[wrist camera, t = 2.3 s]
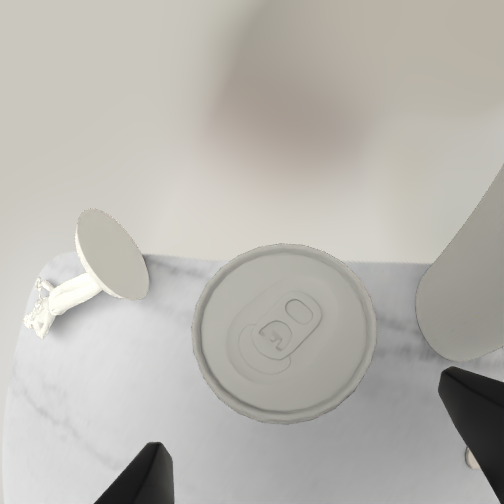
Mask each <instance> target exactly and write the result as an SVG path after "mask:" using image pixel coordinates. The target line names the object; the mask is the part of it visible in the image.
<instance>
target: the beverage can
mask: <svg viewBox="0 0 504 504" xmlns="http://www.w3.org/2000/svg"><path fill="white" fill-rule="evenodd" d="M191 328H192V343H193V352H194V355H195V357H196V360H197V363H198V366H199V368H200V371H201V373H202V375H203V378H204V380H205V381H206V382H207V384H208V385H209V386H210V388H211V389H212V391H213V392H214V393H215V395H216V396H217V397H218V398H219V399H220V400H221V401H223V402H224V403H225V404H227V405H228V406H229V407H231V408H232V409H233V410H235V411H236V412H237V413H239V414H242V415H244V416H247V417H249V418H252V419H254V420H257V421H260V422H265V423H276V424H292V423H298V422H303V421H309V420H313V419H315V418H317V417H319V416H321V415H323V414H325V413H327V412H329V411H331V410H333V409H335V408H336V407H337V406H339V405H340V404H341V403H342V402H343V401H344V400H345V399H346V398H348V397H349V396H350V395H351V394H352V393H353V392H354V391H355V389H356V387H357V386H358V384H359V383H360V381H361V380H362V378H363V376H364V375H365V373H366V371H367V370H368V368H369V366H370V364H371V361H372V357H373V354H374V350H375V346H376V343H377V319H376V315H375V312H374V308H373V304H372V301H371V298H370V296H369V294H368V292H367V291H366V289H365V287H364V286H363V284H362V282H361V281H360V279H359V278H358V277H357V276H356V275H355V274H354V273H353V272H352V271H351V270H350V269H349V268H348V267H347V266H346V265H345V264H344V263H343V262H342V261H340V260H338V259H336V258H335V257H333V256H331V255H329V254H328V253H326V252H324V251H321V250H318V249H315V248H311V247H308V246H305V245H296V244H275V245H269V246H262V247H258V248H255V249H253V250H251V251H248V252H246V253H243V254H241V255H239V256H237V257H236V258H234V259H233V260H231V261H230V262H229V263H227V264H226V265H224V266H223V267H222V268H220V269H219V271H218V272H217V273H216V274H215V275H214V276H213V278H212V279H211V280H210V281H209V282H208V283H207V285H206V286H205V288H204V290H203V292H202V294H201V296H200V298H199V300H198V302H197V304H196V307H195V312H194V317H193V322H192V327H191Z"/></svg>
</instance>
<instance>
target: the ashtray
mask: <svg viewBox="0 0 504 504" xmlns="http://www.w3.org/2000/svg"><path fill="white" fill-rule="evenodd" d="M466 463H467V465H468V466H469V467H470V468H472V469H479V468H480V466H479V464H478V463H477V461H476V459H475V458H474V456H473V454H472V453H471V451H470V450H469V448H468V447H467V450H466Z"/></svg>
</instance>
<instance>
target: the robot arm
mask: <svg viewBox="0 0 504 504" xmlns="http://www.w3.org/2000/svg"><path fill="white" fill-rule="evenodd" d="M438 393H439V395H440V397H441V399H442V401H443V403H444V405H445V407H446V409H447V411H448V413H449V415H450V417H451V419H452V421H453V423H454V425H455V427H456V429H457V430H458V432H459V434H460V435H461V437H462V438H463V440H464V442H465V443H466V445H467V446H468V448H469V450H470V451H471V453H472V454H473V456H474V458H475V459H476V461H477V463H478V464H479V466H480V468H481V469H482V471H483V473H484V475H485V476H486V478H487V480H488V482H489V483H490V485H491V487H492V489H493V490H494V492H495V494H496V496H497V498H498V500H499V501H500V503H501V504H504V382H500V381H497V380H494V379H491V378H488V377H485V376H482V375H478V374H475V373H472V372H469V371H466V370H463V369H460V368H457V367H454V366H452V367H449V368H447V369H445V370H443V371H442V373H441V377H440V382H439V387H438ZM94 504H174V482H173V461H172V458H171V456H170V454H169V453H168V451H167V450H166V448H165V447H164V445H163V444H162V443H161V442H149V443H147V444H146V445H145V447H144V448H143V449H142V450H141V451H140V452H139V454H138V455H137V456H136V457H135V458H134V459H133V461H132V462H131V463H130V464H129V465H128V466H127V467H126V469H125V470H124V471H123V472H122V473H121V474H120V475H119V476H118V478H117V479H116V480H115V481H114V482H113V483H112V484H111V485H110V486H109V488H108V489H107V490H106V491H105V492H104V493H103V494H102V495H101V496H100V497H99V499H98V500H97V501H96V502H95V503H94Z"/></svg>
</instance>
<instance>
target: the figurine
mask: <svg viewBox="0 0 504 504" xmlns="http://www.w3.org/2000/svg"><path fill="white" fill-rule="evenodd" d="M75 243H76V248H77V252H78V255H79V258H80V260H81V262H82V264H83V266H84V268H85V270H86V271H87V272H85V273H83V274H81V275H79V276H77V277H75V278H73V279H71V280H68V281H66V282H64V283H62V284H60V285H59V286H58V287H55V288H54V287H53V286H52V285H51V284H50V283H49V282H48V281H47V280H45V281H42V282H40V281H41V278H40V277H39V278H38V280H37V281H36V284H35V288H36V290H39V298H40V299H39V300H37V301H36V302H35V307H34V309H33V311H32V312H31V313H28V315H27V316H26V317H25V318H24V320H23V321H24V323H25V326H27V327H28V328H30V329H31V328H34V329H35V331H36V333H37V335H38V337H39V338H41V339H43V338H44V337H45V336H46V334H47V333H48V331H49V328H50V326H51V324H52V323H53V321H54V319H55V316H57V315H62V314H63V313H64V312H65V311H66V310H67V309H69V308H72V307H74V306H76V305H78V304H80V303H83V302H85V301H87V300H89V299H90V298H92V297H94V296H95V295H97V294H98V293H99V292H100V291H102V290H104V291H105V292H107V293H108V294H110V295H112V296H114V297H116V298H120V299H126V300H140V299H142V298H144V297H145V296H146V294H147V293H148V290H149V275H148V271H147V267H146V264H145V262H144V259H143V257H142V255H141V253H140V251H139V249H138V247H137V246H136V244H135V242H134V241H133V239H132V238H131V237H130V235H129V234H128V233H127V231H126V230H125V229H124V228H123V227H122V226H121V225H120V224H119V223H118V222H117V221H116V220H115V219H114V218H112V217H111V216H109V215H108V214H106V213H104V212H103V211H100V210H97V209H88V210H85V211H84V212H83V213H81V215H80V217H79V219H78V223H77V228H76V234H75ZM41 286H43V287H44V288H45V289H47V290H48V291H49V292H50V293H49V296H48V297H47V296H46V297H47V298H46V297H45V298H43V299H42V298H41V290H42V288H41Z"/></svg>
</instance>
